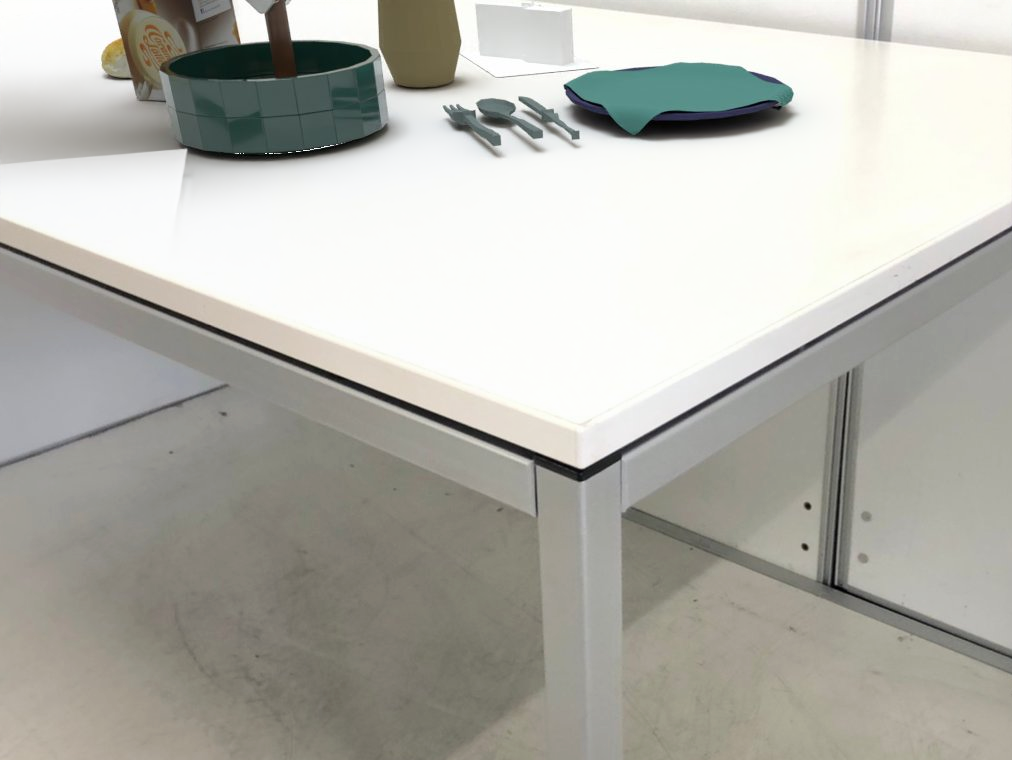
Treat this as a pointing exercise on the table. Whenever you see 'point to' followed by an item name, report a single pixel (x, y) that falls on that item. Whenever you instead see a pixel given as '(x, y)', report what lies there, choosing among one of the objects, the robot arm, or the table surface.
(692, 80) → the cutlery set
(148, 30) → the coffee box
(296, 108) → the bowl
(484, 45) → the napkin holder
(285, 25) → the brown pole stand
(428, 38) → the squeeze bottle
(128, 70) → the bread roll
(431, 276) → the table surface
